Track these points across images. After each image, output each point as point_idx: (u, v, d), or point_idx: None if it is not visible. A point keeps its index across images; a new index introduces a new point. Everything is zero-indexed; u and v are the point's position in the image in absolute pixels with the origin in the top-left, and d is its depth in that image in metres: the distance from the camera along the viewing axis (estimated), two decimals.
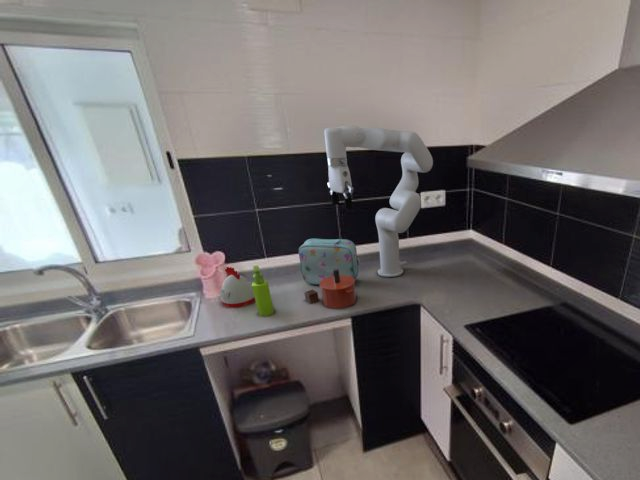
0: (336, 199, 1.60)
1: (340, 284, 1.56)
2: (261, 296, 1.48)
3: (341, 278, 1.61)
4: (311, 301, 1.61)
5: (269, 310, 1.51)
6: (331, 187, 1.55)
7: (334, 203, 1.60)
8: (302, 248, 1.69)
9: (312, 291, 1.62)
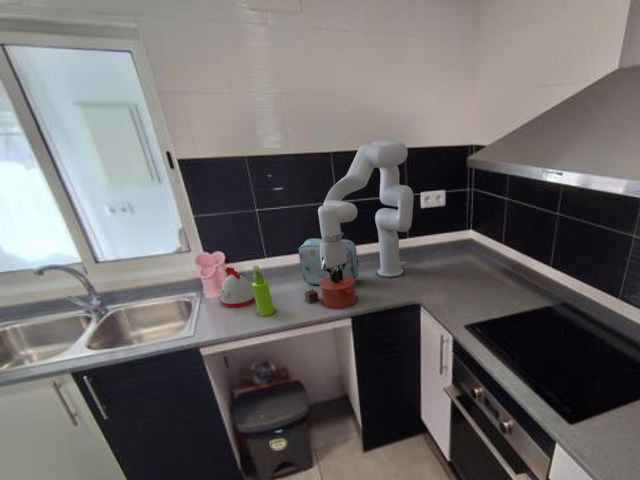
0: None
1: (340, 284, 1.56)
2: (261, 296, 1.48)
3: None
4: (311, 301, 1.61)
5: (269, 310, 1.51)
6: (331, 264, 1.51)
7: None
8: (302, 248, 1.69)
9: (312, 291, 1.62)
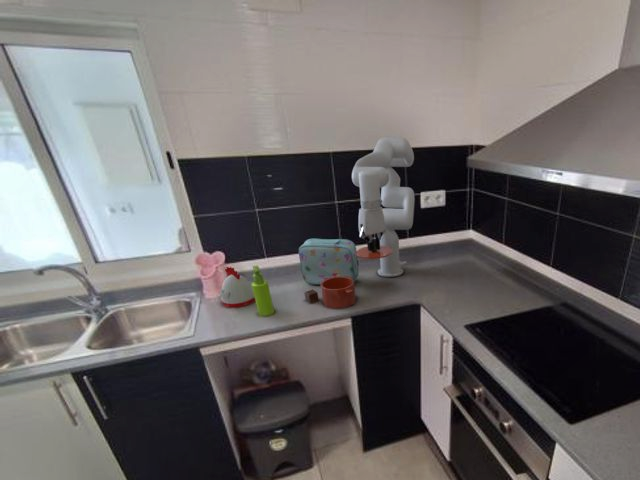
0: None
1: (378, 253, 1.52)
2: (261, 296, 1.48)
3: None
4: (311, 301, 1.61)
5: (269, 310, 1.51)
6: (370, 231, 1.47)
7: None
8: (302, 248, 1.69)
9: (312, 291, 1.62)
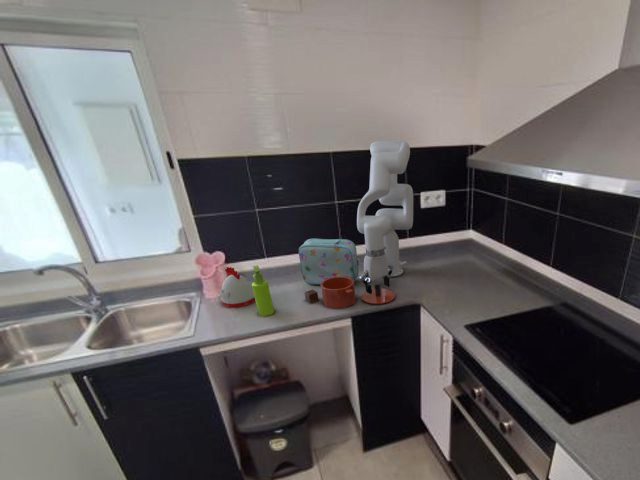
0: None
1: (382, 298, 1.62)
2: (261, 296, 1.48)
3: (381, 291, 1.68)
4: (311, 301, 1.61)
5: (269, 310, 1.51)
6: (374, 276, 1.57)
7: None
8: (302, 248, 1.69)
9: (312, 291, 1.62)
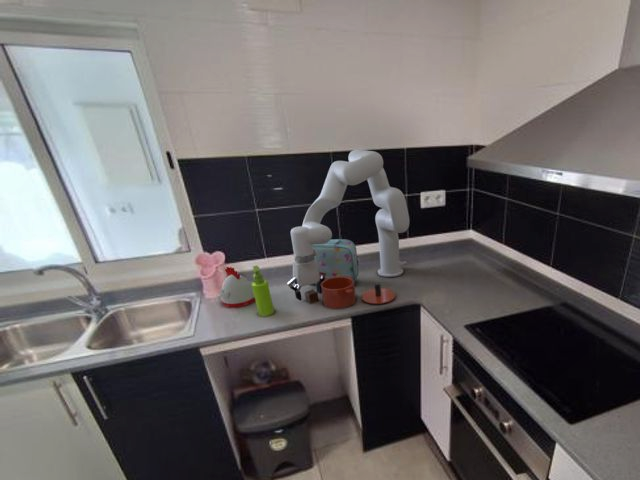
0: None
1: (382, 298, 1.62)
2: (261, 296, 1.48)
3: (381, 291, 1.68)
4: (311, 301, 1.61)
5: (269, 310, 1.51)
6: (303, 283, 1.55)
7: None
8: None
9: (312, 291, 1.62)
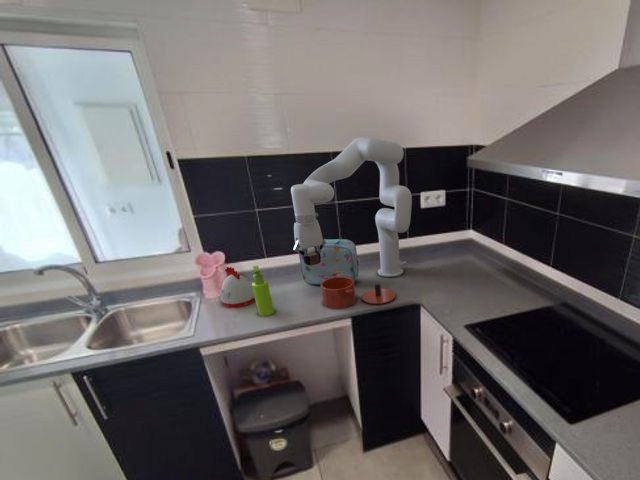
0: None
1: (382, 298, 1.62)
2: (261, 296, 1.48)
3: (381, 291, 1.68)
4: (311, 263, 1.52)
5: (269, 310, 1.51)
6: (305, 245, 1.48)
7: None
8: None
9: (313, 253, 1.54)
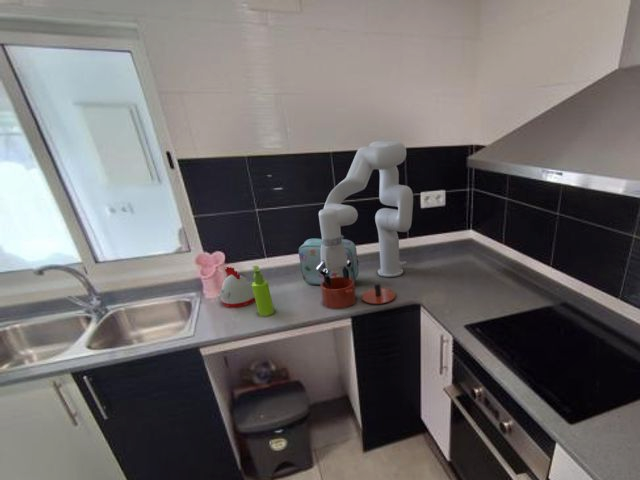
0: None
1: (382, 298, 1.62)
2: (261, 296, 1.48)
3: (381, 291, 1.68)
4: None
5: (269, 310, 1.51)
6: (332, 267, 1.51)
7: None
8: (302, 248, 1.69)
9: None
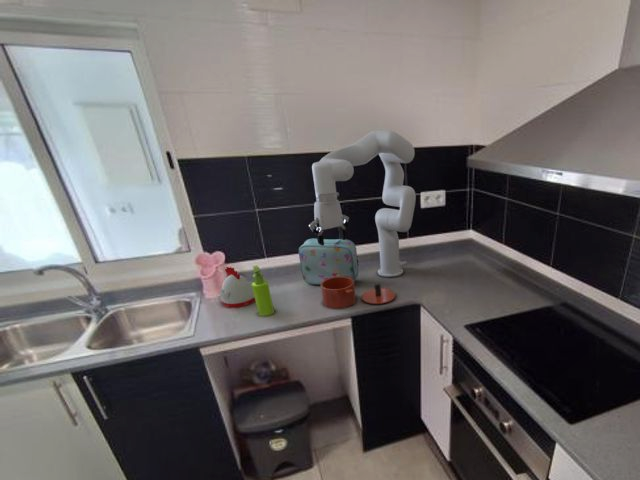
0: None
1: (382, 298, 1.62)
2: (261, 296, 1.48)
3: (381, 291, 1.68)
4: None
5: (269, 310, 1.51)
6: (326, 225, 1.43)
7: None
8: (302, 248, 1.69)
9: None
